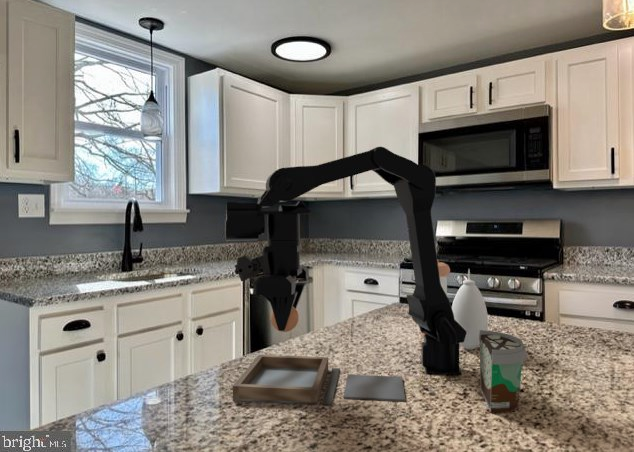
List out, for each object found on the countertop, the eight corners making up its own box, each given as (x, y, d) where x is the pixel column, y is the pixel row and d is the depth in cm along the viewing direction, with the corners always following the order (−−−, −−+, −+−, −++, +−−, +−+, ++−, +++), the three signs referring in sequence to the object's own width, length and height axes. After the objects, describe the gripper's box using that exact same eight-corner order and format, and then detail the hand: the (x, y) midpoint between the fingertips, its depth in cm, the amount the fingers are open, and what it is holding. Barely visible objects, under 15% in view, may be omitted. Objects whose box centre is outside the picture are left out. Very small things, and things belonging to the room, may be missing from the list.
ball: (300, 328, 80) (300, 301, 80) (295, 335, 75) (295, 306, 75) (274, 327, 81) (274, 300, 81) (267, 334, 76) (267, 306, 76)
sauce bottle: (476, 356, 93) (476, 272, 92) (443, 348, 99) (443, 268, 98) (493, 348, 98) (494, 268, 97) (462, 341, 104) (462, 266, 103)
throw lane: (400, 372, 84) (400, 360, 84) (406, 409, 68) (406, 394, 68) (258, 366, 87) (258, 354, 87) (232, 400, 72) (232, 385, 71)
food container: (536, 420, 64) (537, 353, 64) (492, 417, 65) (492, 350, 65) (516, 387, 76) (516, 330, 76) (478, 385, 77) (479, 329, 77)
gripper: (254, 237, 88) (255, 313, 89) (222, 243, 70) (223, 340, 70) (308, 237, 87) (309, 315, 87) (290, 243, 68) (291, 342, 69)
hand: (284, 326), depth 78 cm, fingers closed on ball, 5 cm apart
